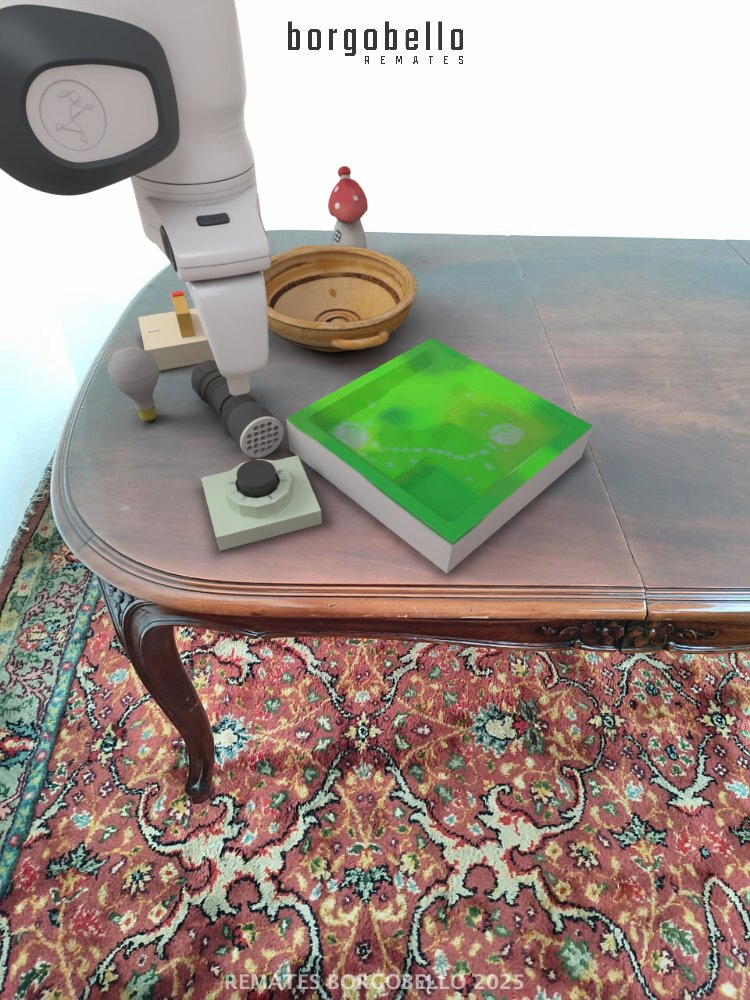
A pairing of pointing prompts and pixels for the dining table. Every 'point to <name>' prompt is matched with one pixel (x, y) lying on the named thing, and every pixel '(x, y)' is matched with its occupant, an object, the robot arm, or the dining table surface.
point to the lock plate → (174, 341)
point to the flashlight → (238, 412)
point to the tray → (438, 448)
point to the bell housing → (261, 505)
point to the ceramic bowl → (337, 296)
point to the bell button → (257, 478)
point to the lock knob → (182, 314)
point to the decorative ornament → (348, 211)
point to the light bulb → (136, 378)
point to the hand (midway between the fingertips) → (226, 360)
